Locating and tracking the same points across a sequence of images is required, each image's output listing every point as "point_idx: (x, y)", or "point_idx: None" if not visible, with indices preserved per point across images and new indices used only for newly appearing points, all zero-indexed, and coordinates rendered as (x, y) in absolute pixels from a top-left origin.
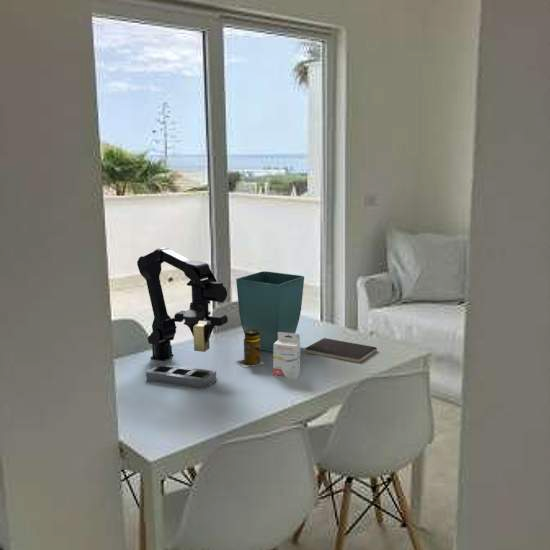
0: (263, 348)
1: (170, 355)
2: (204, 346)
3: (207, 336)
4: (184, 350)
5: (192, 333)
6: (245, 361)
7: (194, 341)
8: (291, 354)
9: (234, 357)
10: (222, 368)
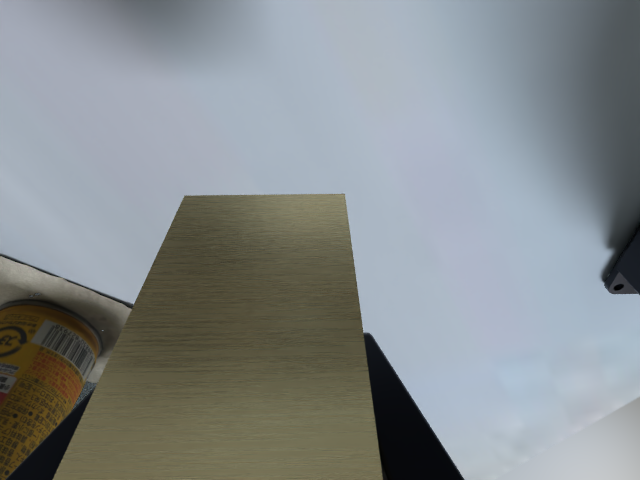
0: None
1: (630, 256)
2: (165, 254)
3: (50, 436)
4: (544, 362)
5: (437, 460)
6: (50, 318)
7: (345, 293)
8: None
9: None
10: (132, 195)
